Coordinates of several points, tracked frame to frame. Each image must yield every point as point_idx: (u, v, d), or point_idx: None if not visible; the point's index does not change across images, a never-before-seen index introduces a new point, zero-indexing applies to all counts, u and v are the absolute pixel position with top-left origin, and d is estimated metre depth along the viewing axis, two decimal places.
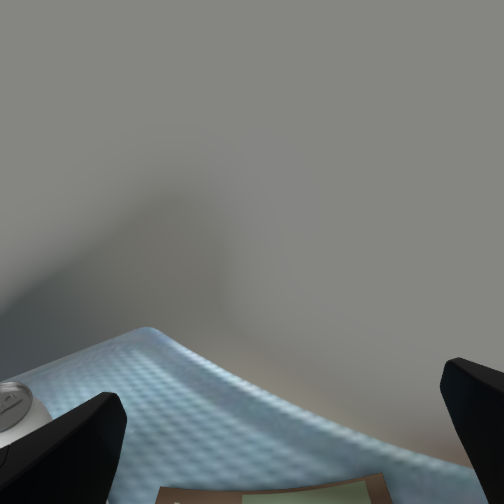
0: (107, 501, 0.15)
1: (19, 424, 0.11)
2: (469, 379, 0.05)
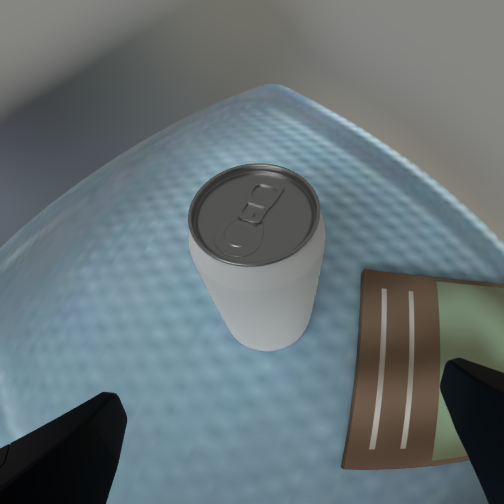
0: None
1: (314, 230, 0.12)
2: (469, 379, 0.05)
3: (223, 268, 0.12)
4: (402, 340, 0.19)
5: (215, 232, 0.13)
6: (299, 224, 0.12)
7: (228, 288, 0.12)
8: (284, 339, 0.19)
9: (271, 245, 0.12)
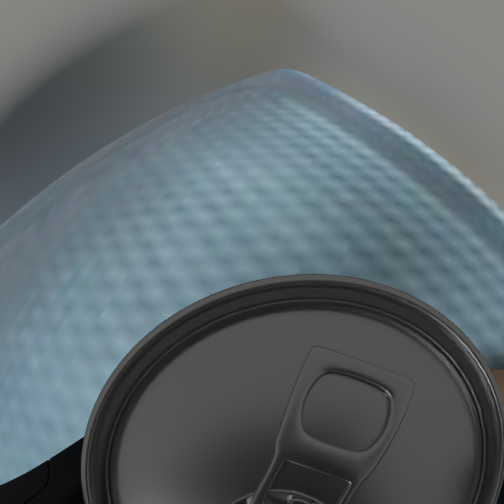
0: None
1: None
2: None
3: None
4: None
5: None
6: None
7: None
8: None
9: None
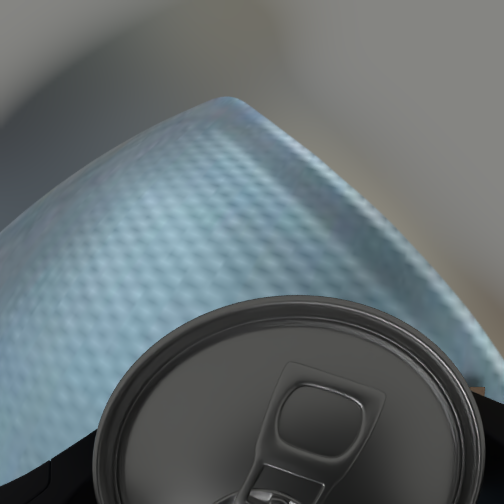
0: None
1: None
2: None
3: None
4: None
5: None
6: None
7: None
8: None
9: None
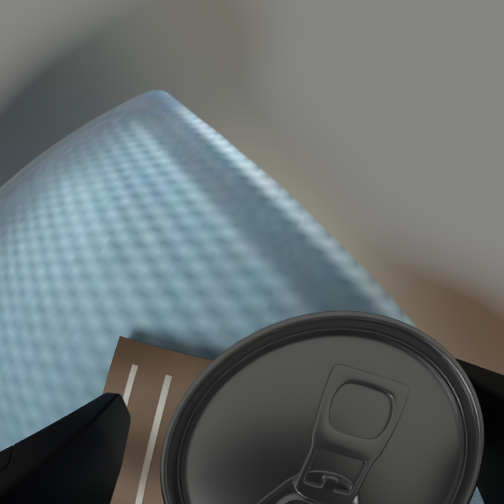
0: None
1: (462, 490, 0.03)
2: None
3: None
4: (141, 434, 0.14)
5: None
6: (437, 486, 0.03)
7: None
8: None
9: None
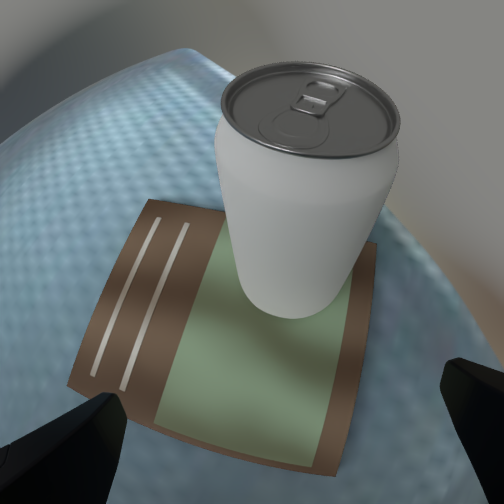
0: None
1: None
2: (469, 379, 0.05)
3: (273, 164, 0.08)
4: (155, 271, 0.19)
5: (260, 120, 0.08)
6: (374, 124, 0.08)
7: (274, 198, 0.08)
8: (317, 301, 0.15)
9: (342, 140, 0.08)
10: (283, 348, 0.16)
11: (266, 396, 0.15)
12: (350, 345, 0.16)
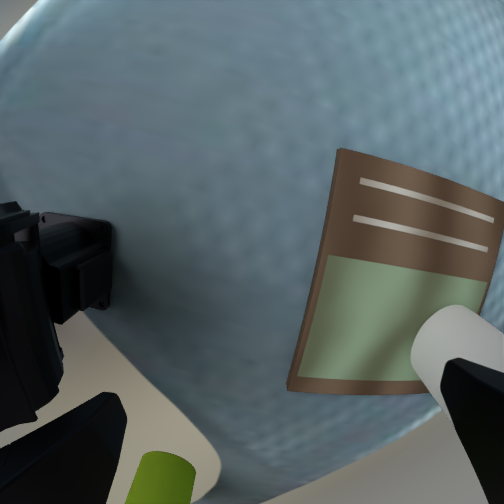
0: None
1: None
2: (469, 379, 0.05)
3: None
4: (454, 229, 0.18)
5: None
6: None
7: None
8: (423, 378, 0.17)
9: None
10: (390, 344, 0.20)
11: (356, 340, 0.20)
12: (384, 385, 0.21)
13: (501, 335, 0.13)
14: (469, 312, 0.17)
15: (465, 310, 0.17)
